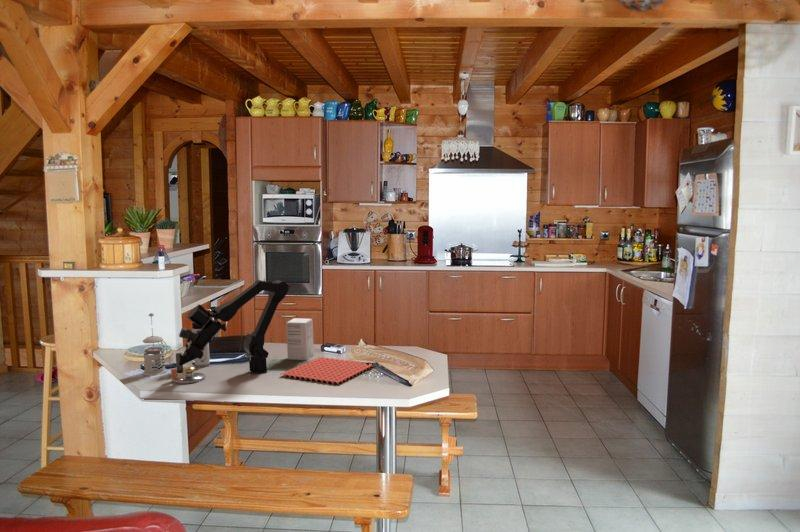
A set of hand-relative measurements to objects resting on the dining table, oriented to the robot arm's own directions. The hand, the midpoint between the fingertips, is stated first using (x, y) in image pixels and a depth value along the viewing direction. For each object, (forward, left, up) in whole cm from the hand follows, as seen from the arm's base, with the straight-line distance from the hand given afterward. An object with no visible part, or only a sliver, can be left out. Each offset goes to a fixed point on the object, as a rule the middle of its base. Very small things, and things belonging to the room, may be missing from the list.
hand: (179, 364), depth 235 cm
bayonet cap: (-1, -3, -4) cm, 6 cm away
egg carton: (-57, 0, -9) cm, 58 cm away
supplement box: (-47, -27, -8) cm, 55 cm away
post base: (-2, -5, -8) cm, 9 cm away
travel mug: (-5, -25, -8) cm, 27 cm away
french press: (+13, -21, -8) cm, 26 cm away
